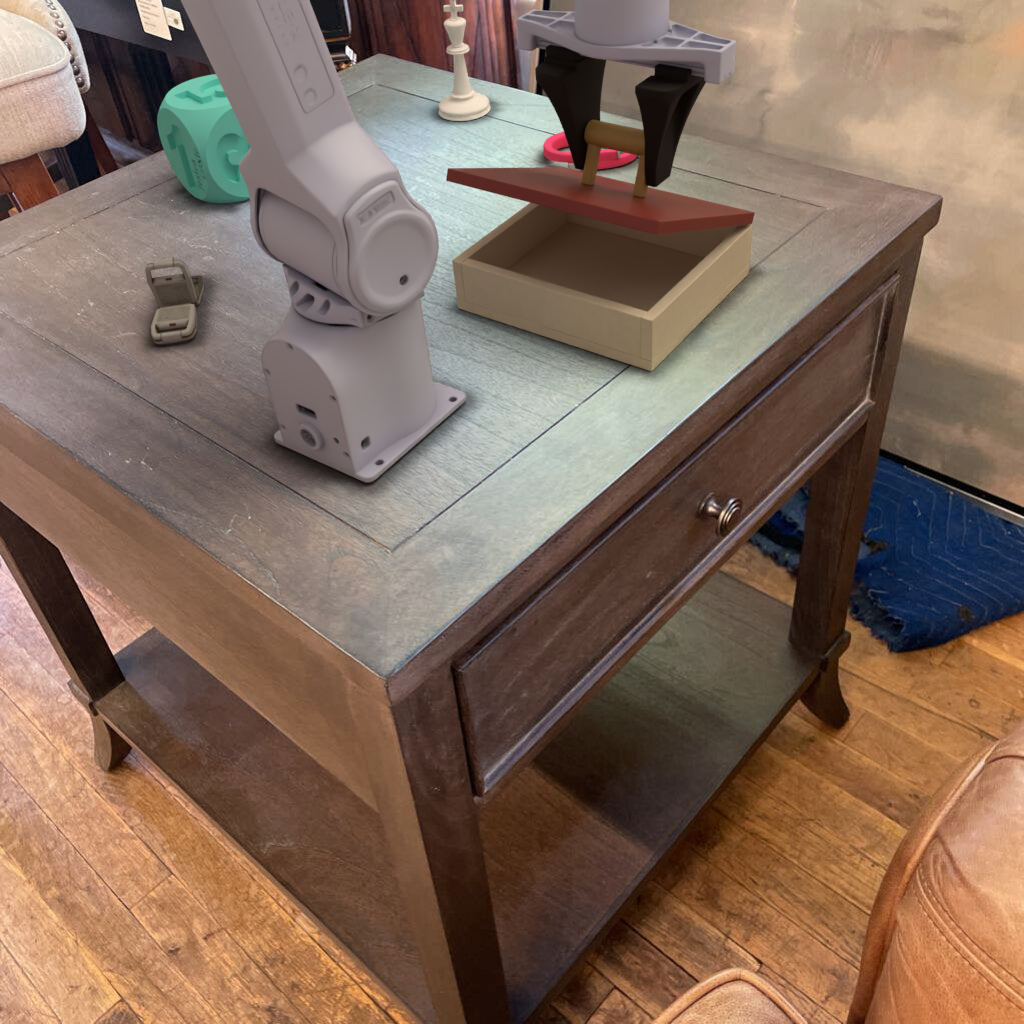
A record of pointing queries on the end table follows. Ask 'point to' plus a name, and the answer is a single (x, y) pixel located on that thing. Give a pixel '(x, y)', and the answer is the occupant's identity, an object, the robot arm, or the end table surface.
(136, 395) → the end table surface
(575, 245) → the hinged lid box
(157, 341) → the strap clip
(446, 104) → the chess piece
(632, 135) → the cover
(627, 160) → the fitness band
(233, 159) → the decorative dice
